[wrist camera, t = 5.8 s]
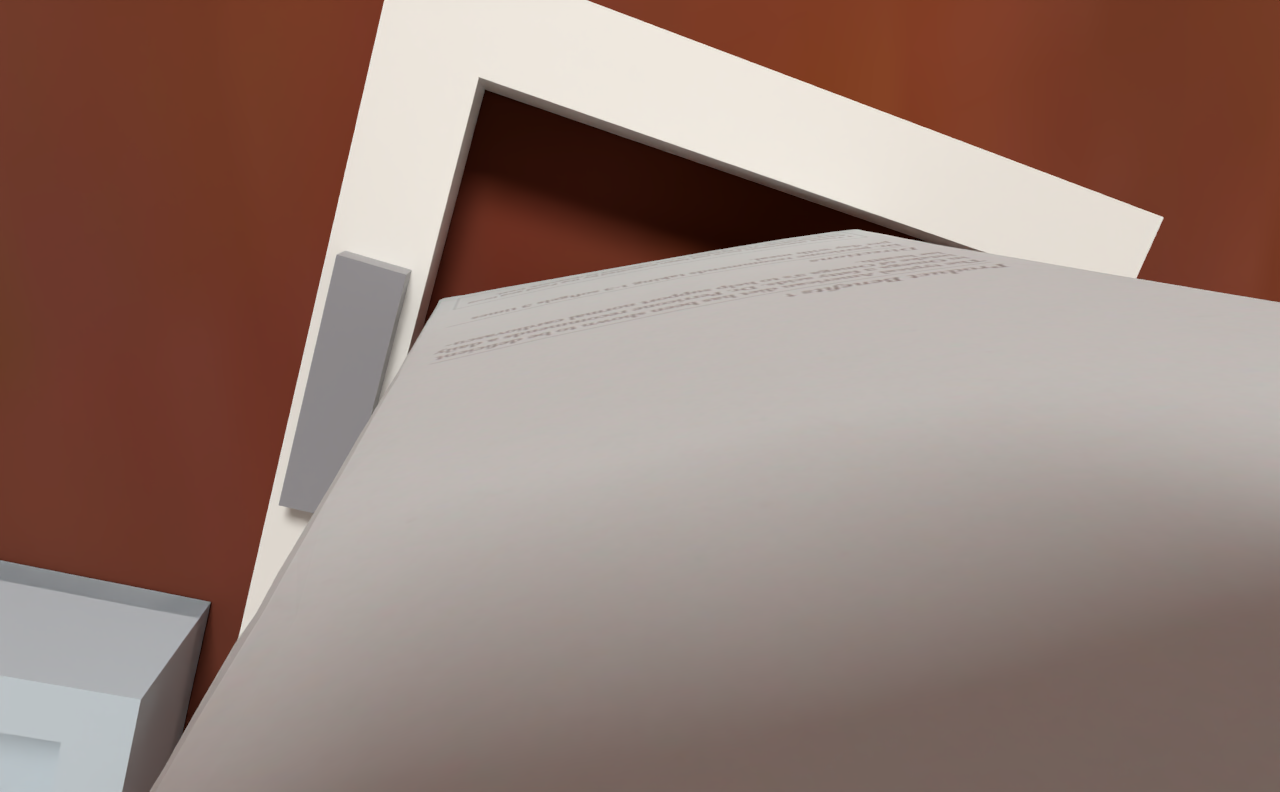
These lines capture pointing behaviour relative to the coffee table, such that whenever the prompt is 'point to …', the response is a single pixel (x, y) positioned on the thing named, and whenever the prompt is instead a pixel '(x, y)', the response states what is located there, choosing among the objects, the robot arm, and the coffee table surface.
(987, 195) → the frame
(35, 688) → the tray
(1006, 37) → the coffee table surface
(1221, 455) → the supplement box
